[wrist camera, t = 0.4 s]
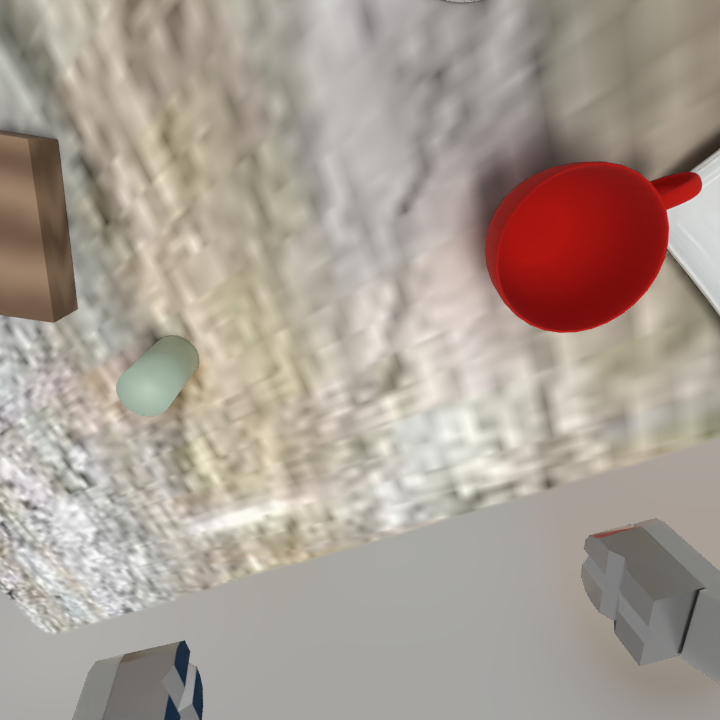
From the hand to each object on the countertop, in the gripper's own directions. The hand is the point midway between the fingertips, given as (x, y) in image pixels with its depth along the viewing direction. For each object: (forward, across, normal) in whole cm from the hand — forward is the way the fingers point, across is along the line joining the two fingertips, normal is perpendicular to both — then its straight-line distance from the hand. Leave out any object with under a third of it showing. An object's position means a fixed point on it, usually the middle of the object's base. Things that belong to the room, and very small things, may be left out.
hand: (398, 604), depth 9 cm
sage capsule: (+42, +14, +10) cm, 46 cm away
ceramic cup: (+34, -25, 0) cm, 43 cm away
